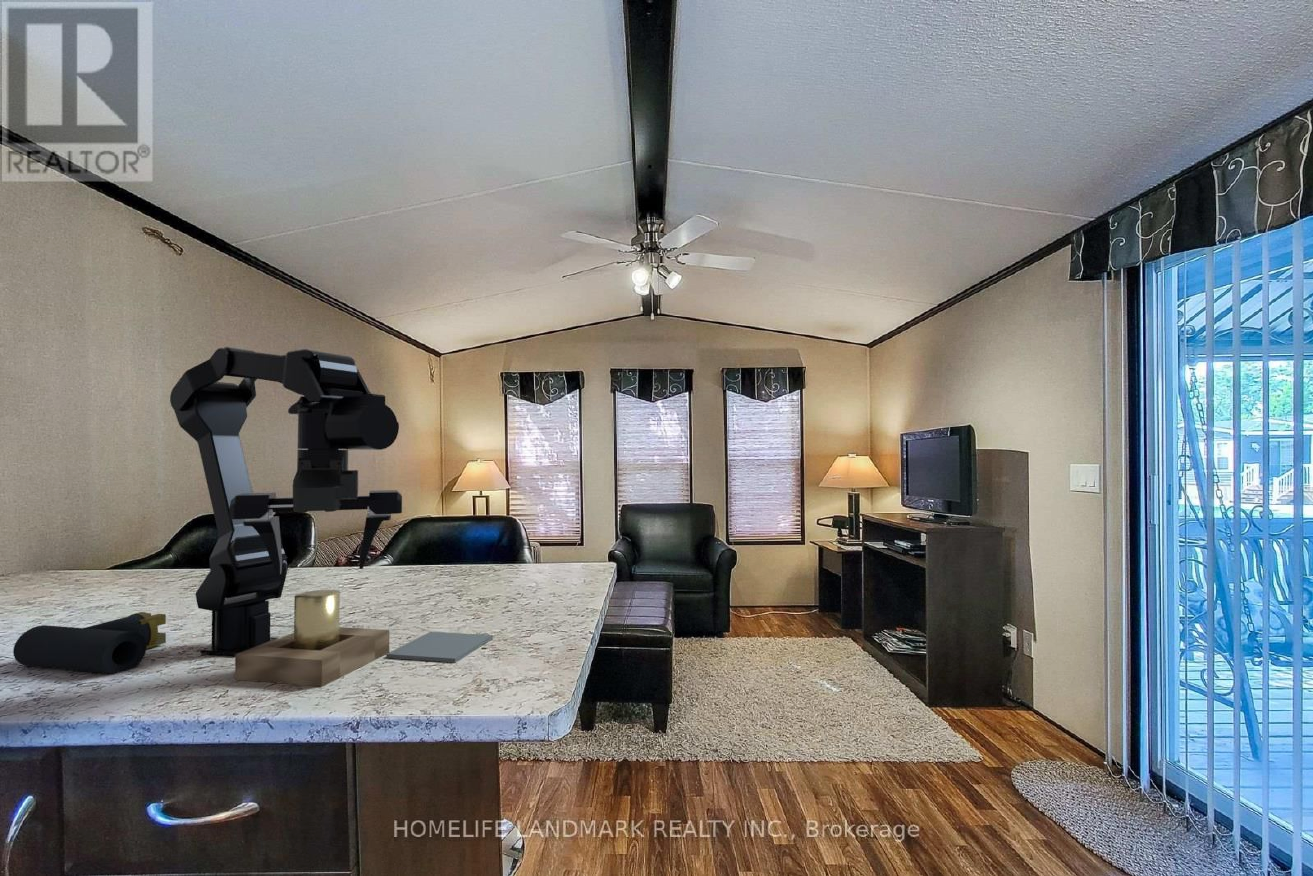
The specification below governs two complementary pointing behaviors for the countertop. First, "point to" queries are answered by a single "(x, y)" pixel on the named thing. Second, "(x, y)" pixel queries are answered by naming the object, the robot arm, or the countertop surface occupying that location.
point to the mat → (440, 647)
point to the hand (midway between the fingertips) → (321, 571)
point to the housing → (311, 658)
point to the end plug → (316, 619)
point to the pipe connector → (92, 644)
